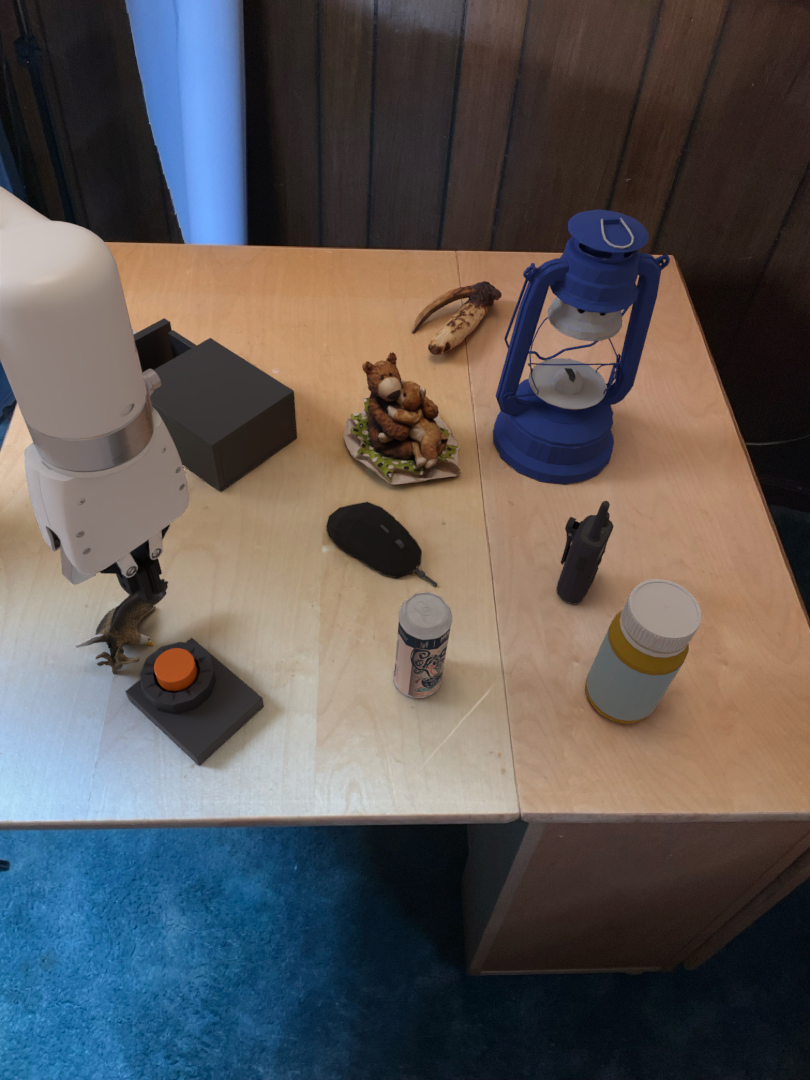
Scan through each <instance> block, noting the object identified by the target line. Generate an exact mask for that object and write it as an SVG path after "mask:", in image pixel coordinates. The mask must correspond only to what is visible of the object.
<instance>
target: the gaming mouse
mask: <svg viewBox="0 0 810 1080" xmlns="http://www.w3.org/2000/svg"><path fill="white" fill-rule="evenodd" d="M326 533H327V536H328V538H329V539H330V540H331V541H332V542H333V543H334V544H335V545H336V547H338V548H339V549H340V550H342V551H343V552H345V553H346V554H348V555H350V556H351V557H353V558H355V559H357V560H358V561H360V562H361V563H363V564H365V565H366V566H367V567H369V568H370V569H372V570H374V571H376V572H378V573H380V574H381V575H383V576H386V577H387V576H389V577H393V578H397V579H398V578H400V577H403V576H406V575H409V574H411V573H413V572H414V573H415V574H417V575H418V576H419V577H420V578H422V579H423V578H424V579H425V580H426V581H427V582H429V583H430V584H431V585H432V586H434V587H435V588H436V587H438V585H439V584H438V582H437V581H434V579H432V578H431V577H429V576H428V575H427V573H426V572H425V571H423V570H422V569H420V568H419V566H420V565H421V560H422V553H423V552H422V551H423V550H422V548H421V547H420V546H419V544H418V542H417V540H416V539H415V538H414V537H413V535H411V534H410V531H408V530H407V528H406V527H404V525H403V524H402V523H401V522H400V521H399V520H398V519H396V517H395V516H393V514H391V513H390V512H389V511H387V510H386V509H384V508H383V507H381V506H380V505H377V504H374V503H372V502H370V501H364V502H358V503H353V504H349V505H344V506H341V507H338V508H337V509H336V510H334V511H333V512H332V513H331V514H330V515H328V519H327V522H326Z"/></svg>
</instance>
